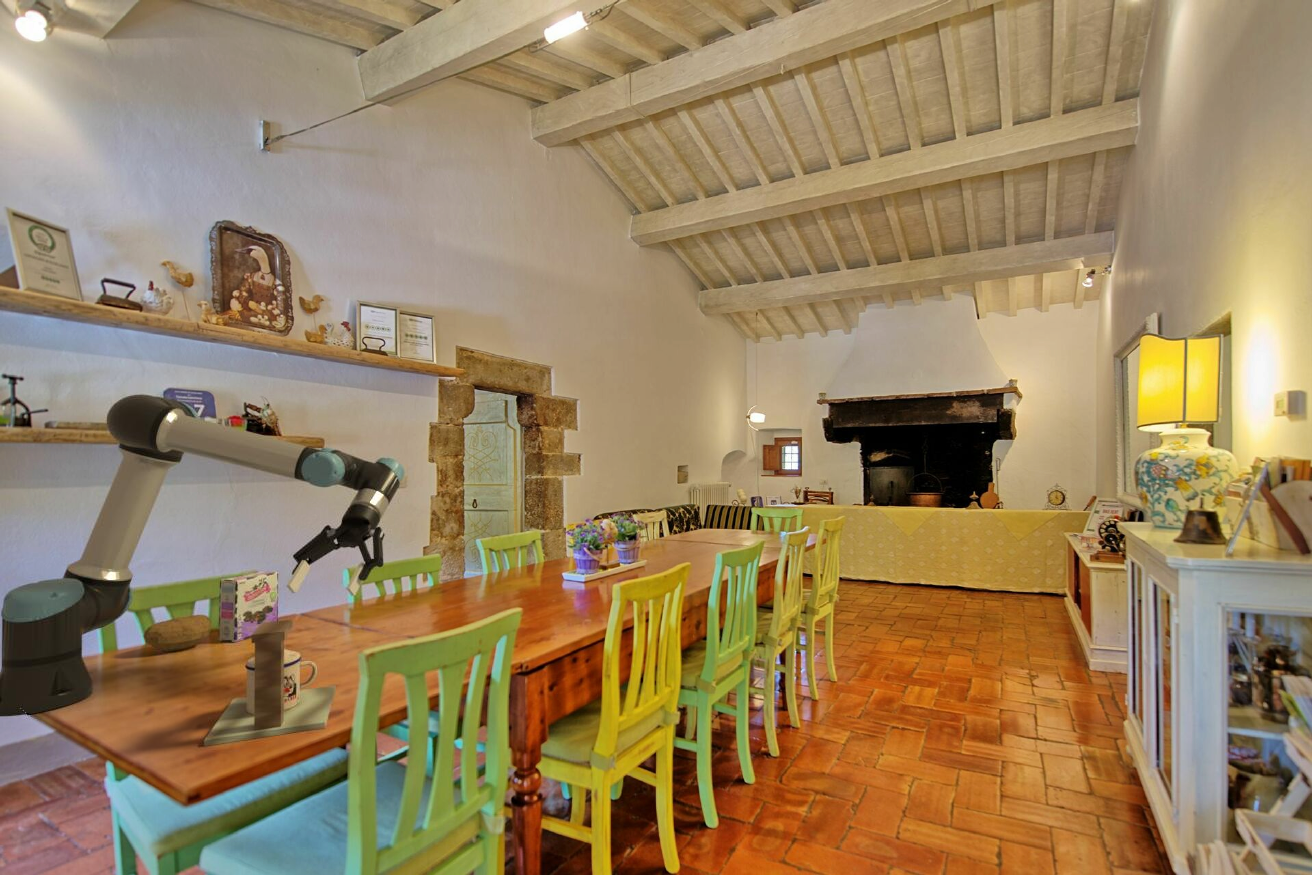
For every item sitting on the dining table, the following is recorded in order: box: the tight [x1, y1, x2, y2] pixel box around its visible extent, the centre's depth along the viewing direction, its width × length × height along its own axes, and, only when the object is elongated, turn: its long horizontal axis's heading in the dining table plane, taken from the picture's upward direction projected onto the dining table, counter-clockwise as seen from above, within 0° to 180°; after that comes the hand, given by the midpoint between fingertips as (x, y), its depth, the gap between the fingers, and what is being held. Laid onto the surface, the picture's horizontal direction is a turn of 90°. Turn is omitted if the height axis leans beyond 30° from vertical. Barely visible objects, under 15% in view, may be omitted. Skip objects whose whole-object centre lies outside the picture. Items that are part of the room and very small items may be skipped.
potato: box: [143, 614, 212, 653], centre depth 162 cm, size 10×14×8 cm
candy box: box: [218, 571, 279, 643], centre depth 175 cm, size 14×6×16 cm, turn 165°
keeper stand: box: [203, 619, 337, 747], centre depth 119 cm, size 18×20×18 cm
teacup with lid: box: [244, 648, 318, 714], centre depth 122 cm, size 12×9×12 cm
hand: (320, 590), depth 133 cm, fingers open, 13 cm apart
